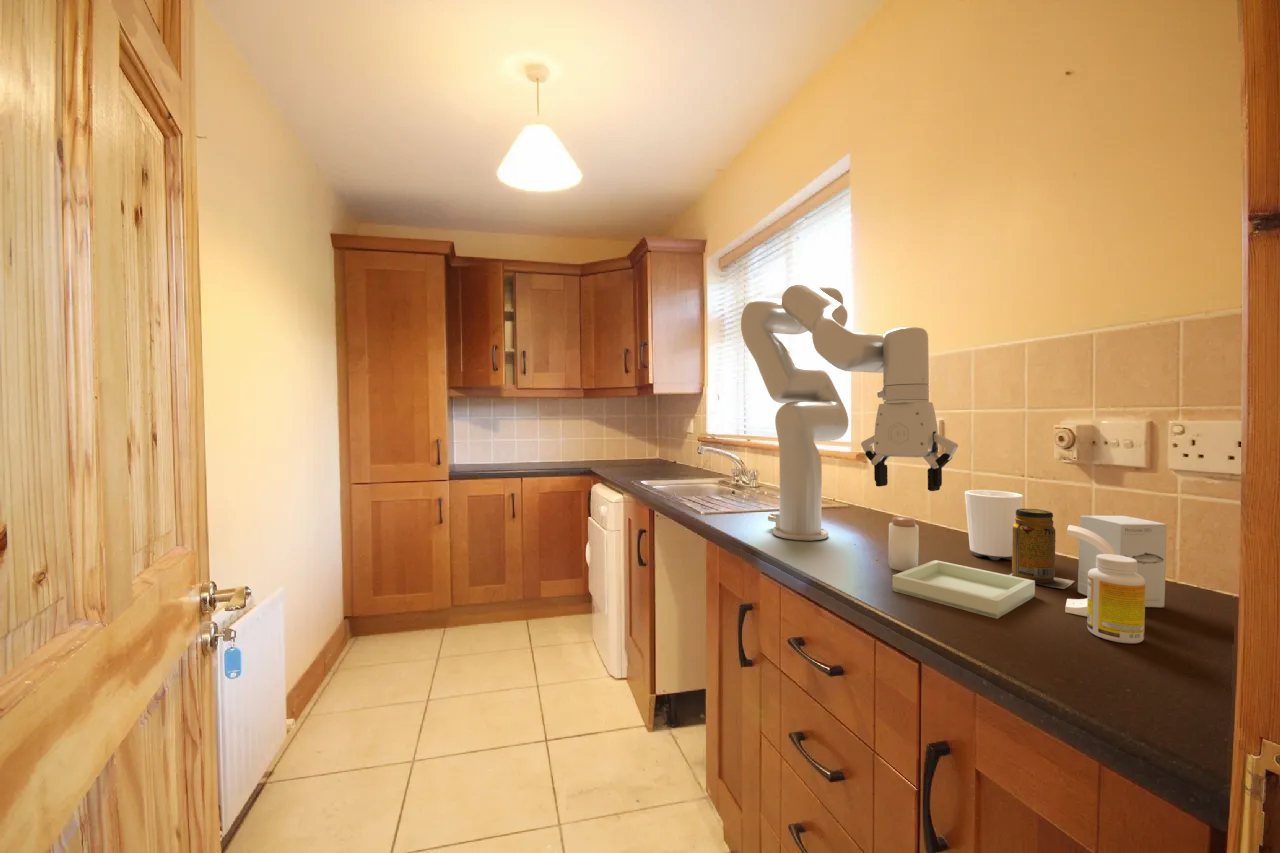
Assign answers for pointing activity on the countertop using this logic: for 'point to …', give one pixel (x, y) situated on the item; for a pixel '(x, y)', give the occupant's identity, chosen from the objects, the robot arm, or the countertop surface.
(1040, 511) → the condiment
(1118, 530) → the supplement box
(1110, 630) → the supplement bottle
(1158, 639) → the countertop surface
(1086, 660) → the countertop surface
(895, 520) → the shaker
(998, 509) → the cup
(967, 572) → the tray
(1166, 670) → the countertop surface
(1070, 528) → the headphone stand
